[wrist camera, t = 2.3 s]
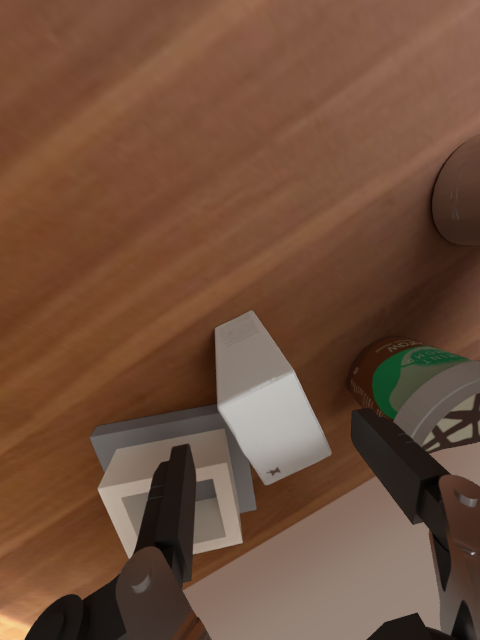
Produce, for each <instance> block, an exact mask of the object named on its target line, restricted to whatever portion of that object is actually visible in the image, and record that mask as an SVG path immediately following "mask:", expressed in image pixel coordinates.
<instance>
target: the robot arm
mask: <svg viewBox="0 0 480 640" xmlns="http://www.w3.org/2000/svg"><path fill="white" fill-rule="evenodd" d="M432 213H433V219H434V222H435V225H436V227H437V230H438V231H439V232H440V234H441V235H442V236H443V237H444V238H445V239H447V240H448V241H449V242H452V243H454V244H457V245H480V134H479V135H477V136H475V137H473V138H471V139H470V140H468V141H466V142H465V143H463V144H462V145H461V146H460V147H459V148H458V149H457V150H456V151H455V152H454V153H453V154H452V155H451V157H450V158H449V159H448V161H447V162H446V163H445V165H444V167H443V169H442V170H441V172H440V174H439V177H438V179H437V182H436V185H435V188H434V193H433V198H432ZM351 438H352V442H353V444H354V446H355V448H356V449H357V451H358V452H359V453H360V455H361V456H362V457H363V459H364V460H365V461H366V463H367V464H368V465H369V467H370V468H371V469H372V471H373V472H374V473H375V475H376V476H377V477H378V479H379V480H380V481H381V483H382V484H383V485H384V487H385V488H386V489H387V491H388V492H389V493H390V495H391V496H392V498H393V499H394V500H395V502H396V503H397V504H398V506H399V507H400V508H401V510H402V511H403V512H404V514H405V515H406V516H407V518H408V519H409V520H410V522H411V523H412V524H413V525H414V524H418V523H421V522H424V523H425V524H426V525H427V527H428V528H429V539H430V544H431V550H432V556H433V562H434V568H435V574H436V580H437V585H438V591H439V599H440V626H441V631H439V630H436V629H433V628H429V627H425V625H424V623H423V622H422V620H421V618H420V616H419V614H418V613H414V614H411V615H408V616H404V617H401V618H398V619H394V620H391V621H387V622H385V623H384V624H383V625H382V626H380V627H379V628H378V629H377V630H376V631H375V632H374V633H373V634H372V635H371V636H370V637H369V638H368V639H367V640H480V486H478V485H477V484H475V483H474V482H472V481H470V480H468V479H466V478H464V477H460V476H457V475H451V474H450V473H449V472H448V471H447V470H446V469H444V467H442V466H441V465H440V464H439V463H438V462H437V461H436V460H435V459H434V458H433V457H431V455H429V454H428V453H427V452H426V451H425V450H424V449H423V448H422V447H421V446H420V445H419V444H417V443H416V442H414V440H413V439H412V438H411V437H410V436H409V435H408V434H406V433H405V432H404V431H403V430H402V429H401V428H400V427H399V426H398V425H397V424H396V423H394V422H392V421H390V420H389V419H387V418H385V417H379V416H378V415H377V414H376V413H375V412H374V411H373V410H372V409H370V408H363V409H358V410H354V411H352V420H351ZM195 499H196V470H195V465H194V461H193V456H192V452H191V448H190V445H189V443H188V444H183V445H178V446H173V447H172V449H171V454H170V459H169V461H165V462H161V463H160V464H159V466H158V468H157V469H156V471H155V472H154V474H153V478H152V482H151V486H150V490H149V494H148V501H147V502H146V506H145V510H144V515H143V519H142V523H141V527H140V531H139V535H138V539H137V543H136V547H135V550H134V552H133V555H132V557H131V558H130V559H129V560H128V561H127V562H126V564H125V565H124V567H123V569H122V571H121V573H120V574H119V575H118V576H117V577H116V578H114V579H113V580H112V581H111V582H109V583H108V584H106V585H105V586H103V587H102V588H100V589H99V590H97V591H96V592H94V593H92V594H91V595H89V596H88V597H86V598H85V599H83V600H81V598H80V597H79V596H78V595H75V594H70V595H66V596H63V597H61V598H60V599H58V600H56V601H55V602H54V603H52V604H51V605H50V606H49V607H48V608H47V609H46V610H45V611H44V612H43V613H42V614H41V615H40V616H39V618H38V619H37V620H36V621H35V623H34V624H33V626H32V627H31V629H30V631H29V632H28V634H27V636H26V638H25V640H212V639H211V637H210V636H209V634H208V632H207V630H206V629H205V627H204V625H203V623H202V622H201V620H200V619H199V618H198V617H197V616H196V614H195V613H194V611H193V609H192V608H191V606H190V604H189V602H188V600H187V598H186V596H185V594H184V593H183V591H182V586H183V583H184V582H188V581H191V577H192V558H193V538H194V519H195Z"/></svg>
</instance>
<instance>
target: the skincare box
mask: <svg viewBox="0 0 480 640" xmlns="http://www.w3.org/2000/svg"><path fill="white" fill-rule="evenodd" d="M215 353H216V384H217V408H218V411H219V412H220V414H221V415H222V417H223V419H224V420H225V422H226V423H227V425H228V427H229V428H230V430H231V432H232V433H233V435H234V436H235V438H236V440H237V442H238V444H239V446H240V448H241V450H242V452H243V453H244V455H245V456H246V457H247V458H248V460H249V461H250V463H251V464H252V466H253V467H254V469H255V470H256V472H257V474H258V475H259V477H260V478H261V480H262V481H263V483H264V485H270V484H272V483H274V482H276V481H278V480H280V479H282V478H284V477H286V476H289V475H291V474H293V473H295V472H297V471H300V470H302V469H304V468H306V467H308V466H310V465H313V464H315V463H317V462H319V461H321V460H323V459H324V458H326V457H328V456H330V455H331V454H332V452H331V450H330V447H329V445H328V442H327V440H326V437H325V435H324V433H323V430H322V428H321V426H320V424H319V422H318V420H317V418H316V416H315V414H314V412H313V410H312V408H311V406H310V404H309V401H308V399H307V397H306V395H305V393H304V391H303V389H302V386H301V384H300V382H299V380H298V378H297V376H296V373H295V371H294V370H293V368H292V367H291V365H290V364H289V362H288V361H287V360H286V358H285V357H284V355H283V354H282V352H281V351H280V349H279V348H278V346H277V345H276V343H275V342H274V341H273V339H272V338H271V336H270V335H269V333H268V332H267V330H266V329H265V328H264V326H263V325H262V323H261V322H260V320H259V319H258V317H257V316H256V315H255V313H254V312H253V311H249V312H247V313H245V314H243V315H241V316H239V317H237V318H235V319H233V320H231V321H228V322H226V323H224V324H222V325H220V326H218V327H216V328H215Z"/></svg>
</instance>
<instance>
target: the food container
mask: <svg viewBox="0 0 480 640" xmlns="http://www.w3.org/2000/svg"><path fill="white" fill-rule="evenodd" d="M348 390H349V391H350V392H351V394H352V395H353V396H354V398H355V399H356V400H357V402H358V403H359V404H360V406H361V407H362V408H370V409H372V410H373V411H374V412H375V413H376V414H377V415H378V416H379V417H385V418H387V419H389V420H390V421H392V422H394V423H396V424H397V425H398V426H399V427H400V428H401V429H402V430H403V431H404V432H405V433H406V434H408V435H409V436H410V437H411V438H412V439H413V440H414V442H416V443H417V444H419V445H420V446H421V447H422V448H423V449H424V450H425V451H426V452H427V453H428V454H429V453H432V452H436V451H438V450H442V449H446V448H452V447H457V446H463V445H468V444H472V443H477V442H480V360H476V361H473V360H470V359H467V358H464V357H461V356H458V355H455V354H452V353H450V352H447V351H444V350H441V349H438V348H435V347H432V346H429V345H426V344H424V343H421V342H418V341H415V340H412V339H409V338H405V337H401V336H389V337H385V338H381V339H379V340H377V341H375V342H373V343H371V344H370V345H369V346H367V347H366V348H365V349H364V350H363V351H362V352H361V353H360V354H359V355H358V356H357V358H356V359H355V361H354V362H353V364H352V366H351V369H350V371H349V376H348Z"/></svg>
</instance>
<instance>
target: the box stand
mask: <svg viewBox="0 0 480 640" xmlns="http://www.w3.org/2000/svg"><path fill="white" fill-rule="evenodd" d="M89 438H90V440H91V442H92V445H93V447H94V449H95V452H96V454H97V456H98V459H99V461H100V463H101V466H102V468H103V470H104V473H105V474H104V476H103V478H102V480H101V482H100V485H99V487H98V491H99V494H100V496H101V498H102V500H103V503H104V505H105V507H106V509H107V511H108V514H109V516H110V518H111V520H112V522H113V525H114V527H115V529H116V531H117V533H118V536H119V538H120V540H121V542H122V545H123V547H124V549H125V551H126V553H127V556H128V558H129V559H130V558H131V557H132V555H133V552H134V550H135V547H136V543H137V539H138V535H139V531H140V527H141V523H142V519H143V515H144V510H145V506H146V502H147V501H148V494H149V490H150V486H151V482H152V478H153V474H154V472H155V471H156V469H157V468H158V466H159V464H160V463H161V462H165V461H169V459H170V454H171V449H172V447H173V446H178V445H183V444H188V443H189V445H190V448H191V452H192V456H193V461H194V465H195V470H196V499H195V519H194V538H193V554H197V553H202V552H206V551H210V550H215V549H219V548H223V547H228V546H232V545H236V544H241V543H243V541H242V531H241V521H240V513H244V512H248V511H253V510H257V508H256V502H255V495H254V489H253V482H252V476H251V470H250V463H249V460H248V458H247V457H246V456H245V455H244V453H243V452H242V450H241V448H240V446H239V444H238V442H237V440H236V438H235V436H234V435H233V433H232V432H231V430H230V428H229V427H228V425H227V423H226V422H225V420H224V419H223V417H222V415H221V414H220V412H219V411H218V408H217V404H213V405H208V406H203V407H197V408H192V409H186V410H181V411H176V412H170V413H165V414H159V415H154V416H149V417H143V418H138V419H132V420H127V421H122V422H116V423H111V424H105V425H100V426H97V427H96V428H95V430H94V431H93V433H92V434H91V436H90V437H89Z"/></svg>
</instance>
